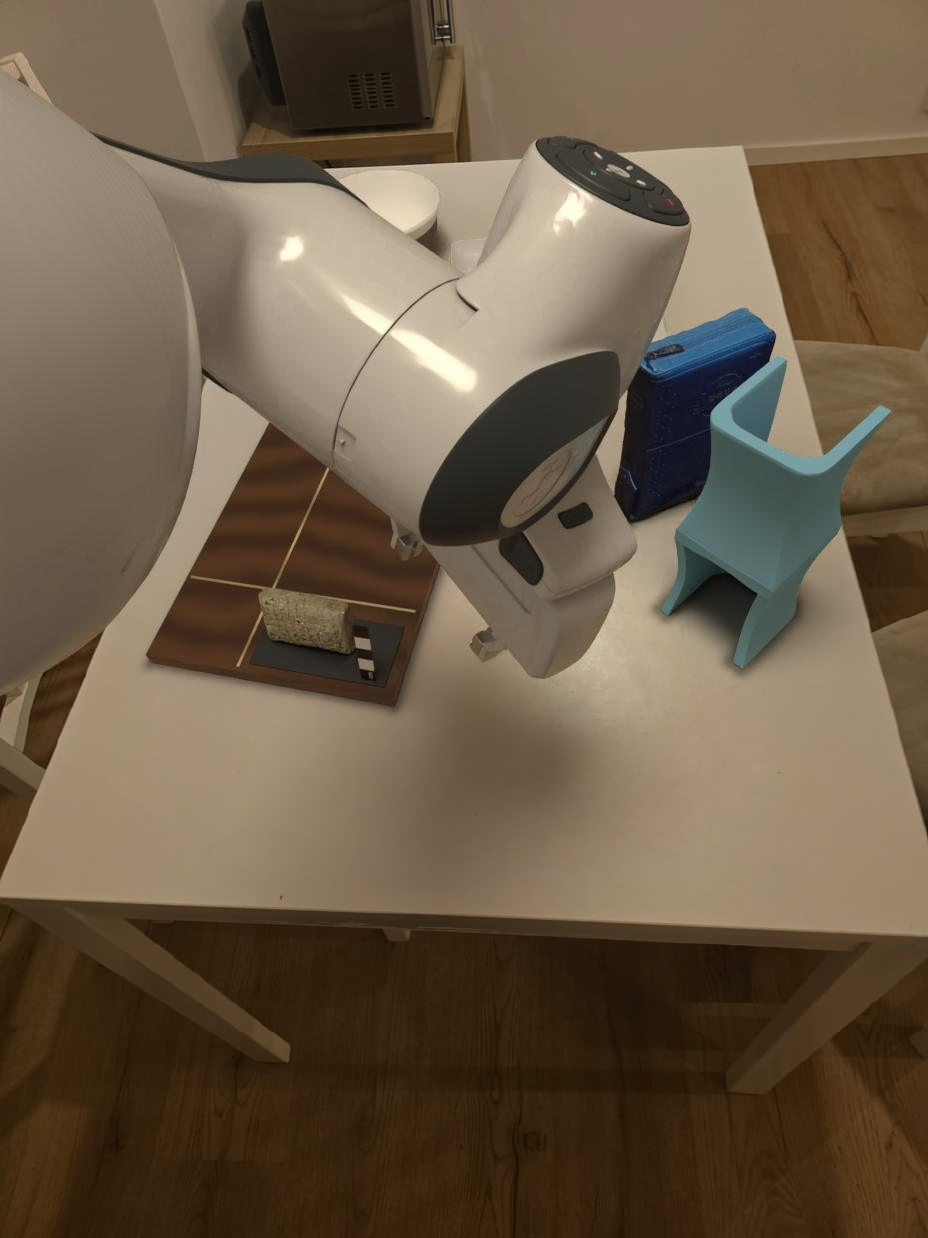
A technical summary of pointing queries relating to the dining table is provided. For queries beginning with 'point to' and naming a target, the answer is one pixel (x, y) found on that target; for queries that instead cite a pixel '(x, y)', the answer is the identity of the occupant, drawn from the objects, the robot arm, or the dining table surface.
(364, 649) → the cuneiform tablet
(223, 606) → the board
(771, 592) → the light blue toy chair
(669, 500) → the book
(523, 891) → the dining table surface
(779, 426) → the dining table surface
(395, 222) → the bowl
